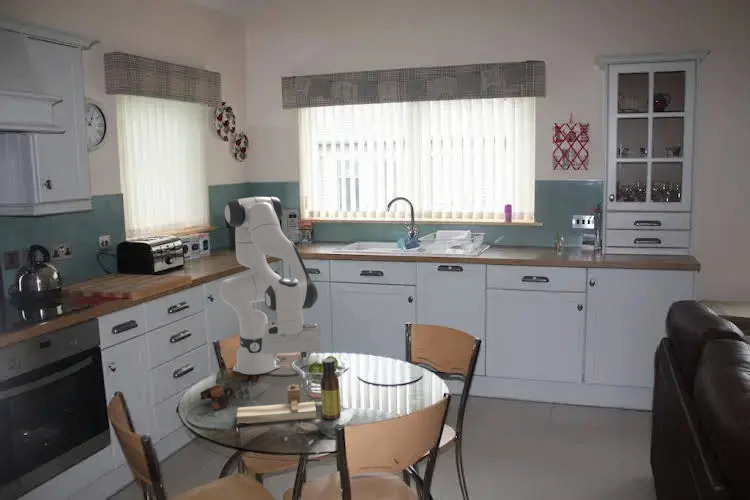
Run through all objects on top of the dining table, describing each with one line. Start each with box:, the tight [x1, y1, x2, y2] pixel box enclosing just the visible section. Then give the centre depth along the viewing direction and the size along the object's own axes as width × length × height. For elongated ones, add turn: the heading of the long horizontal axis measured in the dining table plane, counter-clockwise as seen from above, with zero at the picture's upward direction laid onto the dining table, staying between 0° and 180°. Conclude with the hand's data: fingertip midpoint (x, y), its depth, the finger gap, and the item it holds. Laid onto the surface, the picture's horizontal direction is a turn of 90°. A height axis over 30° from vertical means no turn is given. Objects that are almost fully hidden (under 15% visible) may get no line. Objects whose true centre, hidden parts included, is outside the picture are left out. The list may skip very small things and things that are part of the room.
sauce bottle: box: [320, 357, 342, 420], centre depth 226 cm, size 7×6×20 cm
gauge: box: [286, 384, 301, 413], centre depth 231 cm, size 15×4×8 cm, turn 8°
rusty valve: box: [199, 384, 236, 410], centre depth 240 cm, size 12×10×8 cm
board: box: [236, 401, 317, 425], centre depth 229 cm, size 8×26×3 cm, turn 98°
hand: (292, 364), depth 234 cm, fingers open, 8 cm apart
